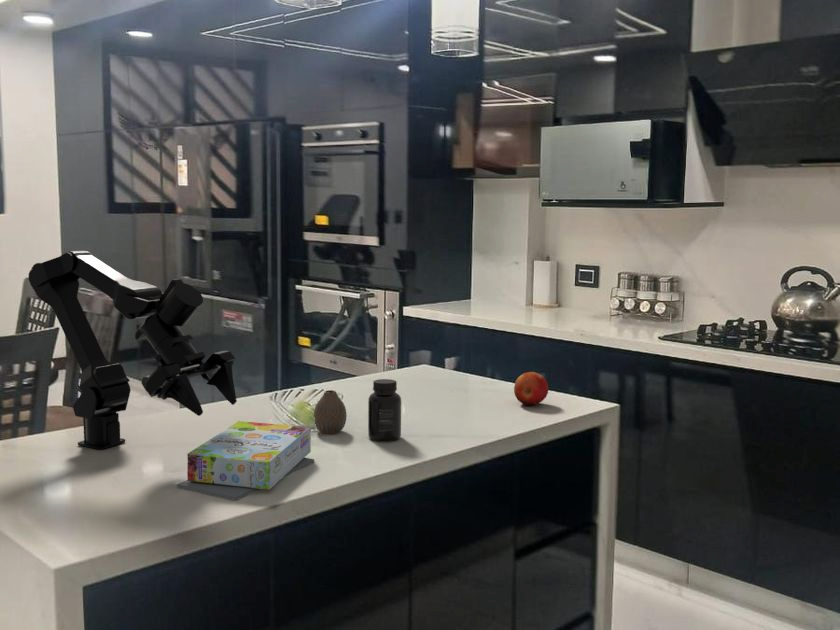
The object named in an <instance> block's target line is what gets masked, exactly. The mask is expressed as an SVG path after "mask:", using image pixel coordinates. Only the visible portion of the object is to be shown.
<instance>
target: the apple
mask: <svg viewBox="0 0 840 630" xmlns="http://www.w3.org/2000/svg"><path fill="white" fill-rule="evenodd" d="M513 392H514V396H515V398H516V399H517V401H518V402H519V403H521V404H522V405H526V406H533V405H536V404H540V403H542V402H543V401H544V400H545V399H546V398H547V396H548V394H549V385H548V381H547V379H546V378H545V377H544V376H543V375H541V374H540V373H538V372H535V371H529V372H524V373H522V374H521V375H519V376H518V377H517V379H516V380H515V382H514V387H513Z"/></svg>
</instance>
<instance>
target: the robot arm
mask: <svg viewBox="0 0 840 630" xmlns="http://www.w3.org/2000/svg"><path fill="white" fill-rule="evenodd" d="M27 279H28V281H29V284H30V286H31V287H32V289H33V291H34V293H35V294H36V296H37V297H38V299H40V300H41V301H43V302H44V303H45V304H47V305H48V306H50V307H51V309H52V311H53V312H54V315H55V317H56V318H57V321H58V323H59V325H60V327H61V329H62V332H63V333H64V336H65V338H66V340H67V342H68V344H69V346H70V348H71V350H72V353H73V355H74V357H75V359H76V361H77V363H78V365H79V368H80V370H81V375H80V381H79V389H80V392H81V394H80V395H79V397H78V398H77V400H76V401H74V403H73V405H72V410H73V412H74V413H73V414H74V416H75V417H79V418H82V420H83V421H82V422H83V440H80V441H78V442H77V446H83V447H87V448H92V449H96V450H104V449H107V448H109V447H110V448H111V447H114V446H116V445H118V444H122V443H125V442H126V439H125V438H121V422H120V420H119V414H120V413H119V412H125V411H126V410H127V407H128V402H129V399H130V395H131V386H130V384H129V382H130V381H131V380H130V379H129V378H128V376H127V374H126V373H125V369H124V367H123V365H122V364H121V363H114V364H112V363H111V362H110V361H108V360H107V358H106V355H105V353H104V351H103V349H102V347H101V345H100V342H99V341H98V338H97V336H96V334H95V332H94V331H93V330H94V329H93V328H92V326H91V323H90V321H89V319H88V318H87V315H86V314H85V311H84V310H83V307H82V305H81V303H80V300H79V298H78V294H79V290H80V281H79V280H81V279H82V280H83V281H85V282H86V283H87V284H89V285H91V286H92V287H94V288H95V289H97V290H98V291H100V292H102V293H103V294H104V295H106V296H108V297H109V298H110V299H111V300H112V304H113V307H114V308H115V309H116V310H117V311H118V312H119V313H120V314H121V315H122V316H123V317H124V318H126V319H128V320H136V319H143V318H145V320H144V321H143V322H142V323H139V324H136V330H135V333H134V339H135V340H142V339H146V340H147V341H148V342H149V343H150V345H151V346H152V348H153V349H154V351H155V353H157V355H156V356H155V363H156V364H157V367H156V368H155V369H154V370H153V371H152V373H151V374H150V375H145V376H143V377H142V380H141V385H142V387H143V388H144V390H145V391H146V392H147V394H148V395H149V396H150V397H151V398H153V397H156V398H158V399H162V401H163V400H167V399H172V400H174V401H176V402H178V403H179V404H180V405H182V406H183V407H185V408H186V409H188V410H189V411H191V412H192V413H193V414H194V415H196V416H198V417H200V416H202V414H204V411H203V408H202V405H201V403H200V401H199V399H198V396H197V394H196V392H195V390H194V388H193V386H192V383H191V382H190V379H189V378H193V377H196V376H201V377H202V379H203V380H206V381H207V382H206V385H209V386H215V387H216V389H217V390H218V391H219V392H220V393H221V394H222V395H223V397H224V398H225V399H226V401H228V403H230V404H231V405H232V406H234V405H235V404H236V403H237V402H238V400H237V395H236V388H235V384H234V377H233V376H234V375H233V367H234V365H235V361H237V360H236V357H235V356H234V354H233V353H232V352H231V351H230V350H221V351H217V352H213V353H212V354H211V355H210V356H209V357H208V358H207V360H205V362H203V360H204V359H205V358H206V354H205V353H204V352H203V351H201V352H197V350H196V349H195V347H194V346H193V345H192V343H191V342H192V341H193V340H194V338H193V336H192V335H191V334H188V335H185V334H184V333H183V332H182V330H181V328H180V327H183V326H185V325H186V324H188V322H189V321H190V319H191V318H192V317H193V315H194V314H196V312H197V311H198V309H199V308H200V307H201V306H202V304H203V302H204V297H203V295H202V294H201V292H200V290H198V289H196V288H195V287H193V286H192V285H190V284H188V283H185V282H184V281H183V279H181V278H178V279H177V278H176V279H172V280H171V281H170V282H169V283H168V286H167V287H166V289H165V290H164V292H162V290H161V289H160V288H159V287H158V286H156V285H152V284H151V283H147V282H144V281H138V280H134V279H131V278H129V277H127V276H125V275H123V274H122V273H121V272H119V271H117V270H115V269H114V268H112V267H111V266H110V265H108V264H106V263H104V262H103V261H102V260H100V259H98V258H97V257H95V256H94V255H93V253H91V251H87V250H71V251H66V252H65V253H63V254H61V255H59V256H58V257H54V258H52V259H49V260H46V261H44V262H37V263H35V264H33V265H32V267H31V269H30V270H29V273H28V278H27Z"/></svg>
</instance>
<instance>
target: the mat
mask: <svg viewBox="0 0 840 630" xmlns="http://www.w3.org/2000/svg"><path fill="white" fill-rule="evenodd" d="M314 463H315V459H313V458H309V457H304V458H303V459H302V460H301V461H300V462H299V463H298V464H297V465H296V466H295V467H293V468H292V469H291V470H290V471H289V472H288V473H287V474H286V475H285V476H284V477H282V478H281V479H283V478H285V477H287V476H290V475H292V474H294V473H296V472H297V471H300V470H301V469H304V468H306V467H308V466H310V465H312V464H314ZM176 488H177V489H182V490H184V491H185V490H186V491H191V492H196V493H200V494H204V495H209V496H214V497H217V498H218V497H219V498H222V499H223V498H224V499H227V500H232V501H239V500H240V499H242V498H244V497H246V496H248V495H251V494H253V493H254V492H256V491H258V490H260V489H256V488H247V487H239V486H229V485H220V484H212V483H203V482H193V481H188V479H186V480H183V481H181V482H179V483H177V484H176Z"/></svg>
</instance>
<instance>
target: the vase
mask: <svg viewBox="0 0 840 630" xmlns="http://www.w3.org/2000/svg"><path fill="white" fill-rule="evenodd" d="M314 406H315V407H314V410H313V418H314V417H315V423H314V425H315V424H316V426H315V428H316V427H317V428H316V429H317V430H318V432H320V433H321V434H322V435H337V434H339V433H341V432H342V430H343V429H344V427H345V426H346V422H347V408H346V406H345V404H344V402H343V401H342V399H341V398H340V396H338V394H337V391H336V390H325V391H324V393H323V394H322V396H321V398H320V399H319V400H318V401H317V403H316V404H315V405H314Z"/></svg>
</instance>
